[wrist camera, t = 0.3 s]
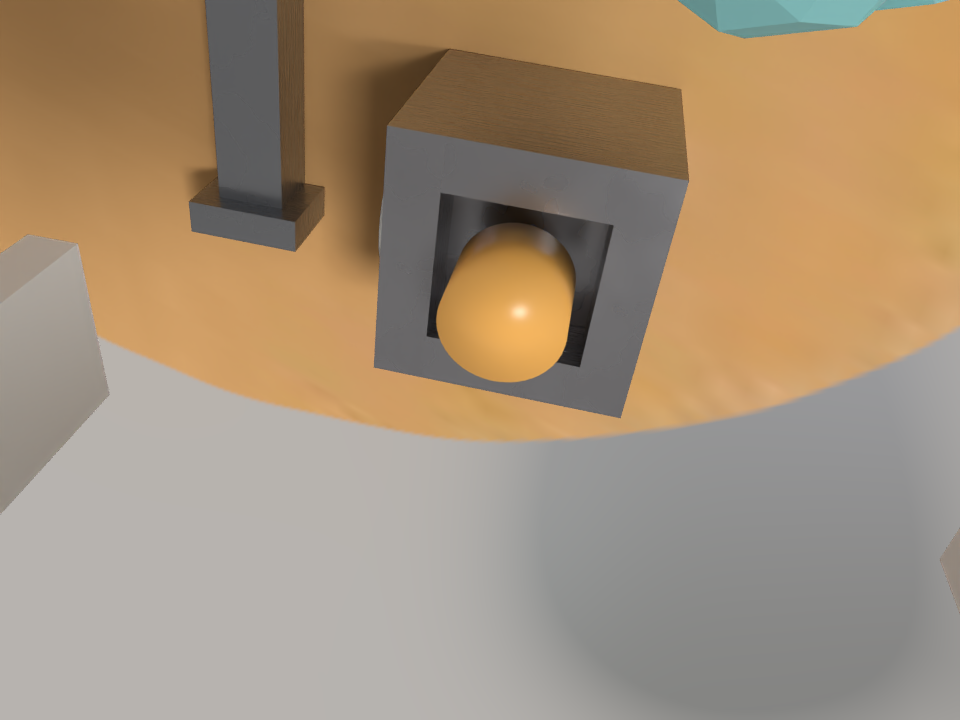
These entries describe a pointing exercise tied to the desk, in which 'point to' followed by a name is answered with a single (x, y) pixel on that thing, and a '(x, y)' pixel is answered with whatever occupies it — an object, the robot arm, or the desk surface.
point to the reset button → (508, 303)
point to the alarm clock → (789, 14)
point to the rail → (258, 126)
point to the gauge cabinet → (531, 211)
